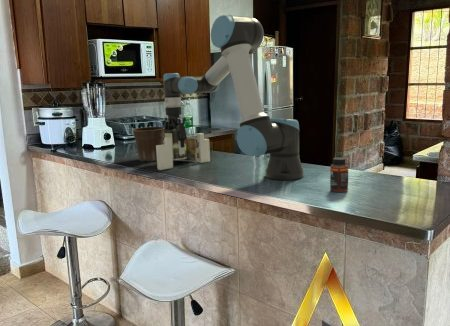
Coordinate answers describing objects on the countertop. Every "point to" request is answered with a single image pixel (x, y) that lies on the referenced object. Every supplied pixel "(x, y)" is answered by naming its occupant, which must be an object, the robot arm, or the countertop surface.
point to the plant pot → (148, 142)
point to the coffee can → (175, 144)
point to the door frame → (166, 152)
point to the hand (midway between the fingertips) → (176, 152)
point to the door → (191, 149)
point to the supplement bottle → (339, 175)
